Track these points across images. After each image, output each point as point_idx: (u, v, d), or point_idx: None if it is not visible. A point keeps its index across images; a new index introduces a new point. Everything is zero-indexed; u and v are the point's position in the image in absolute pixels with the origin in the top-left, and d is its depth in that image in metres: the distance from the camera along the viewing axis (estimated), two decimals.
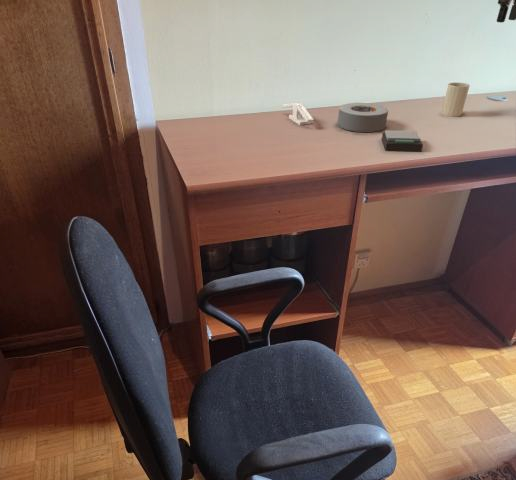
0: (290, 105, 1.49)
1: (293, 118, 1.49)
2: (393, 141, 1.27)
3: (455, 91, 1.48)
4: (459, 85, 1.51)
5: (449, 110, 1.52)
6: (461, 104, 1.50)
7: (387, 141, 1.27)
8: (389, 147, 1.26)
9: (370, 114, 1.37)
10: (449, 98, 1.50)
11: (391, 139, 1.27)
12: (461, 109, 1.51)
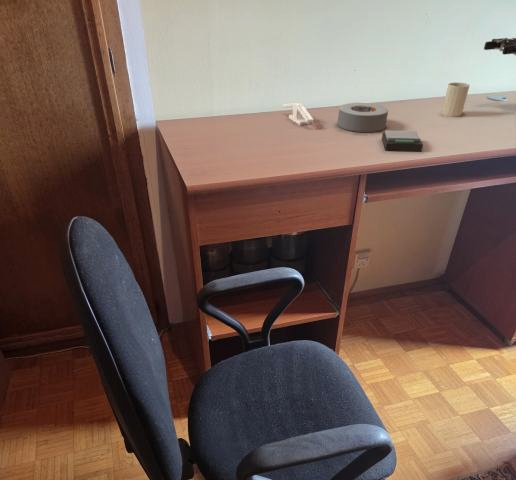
0: (290, 105, 1.49)
1: (293, 118, 1.49)
2: (393, 141, 1.27)
3: (455, 91, 1.48)
4: (459, 85, 1.51)
5: (449, 110, 1.52)
6: (461, 104, 1.50)
7: (387, 141, 1.27)
8: (389, 147, 1.26)
9: (370, 114, 1.37)
10: (449, 98, 1.50)
11: (391, 139, 1.27)
12: (461, 109, 1.51)
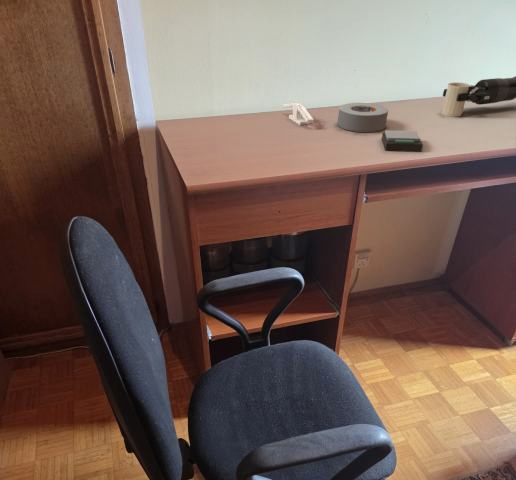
0: (290, 105, 1.49)
1: (293, 118, 1.49)
2: (393, 141, 1.27)
3: (455, 91, 1.48)
4: (459, 85, 1.51)
5: (449, 110, 1.52)
6: (461, 104, 1.50)
7: (387, 141, 1.27)
8: (389, 147, 1.26)
9: (370, 114, 1.37)
10: (449, 98, 1.50)
11: (391, 139, 1.27)
12: (461, 109, 1.51)
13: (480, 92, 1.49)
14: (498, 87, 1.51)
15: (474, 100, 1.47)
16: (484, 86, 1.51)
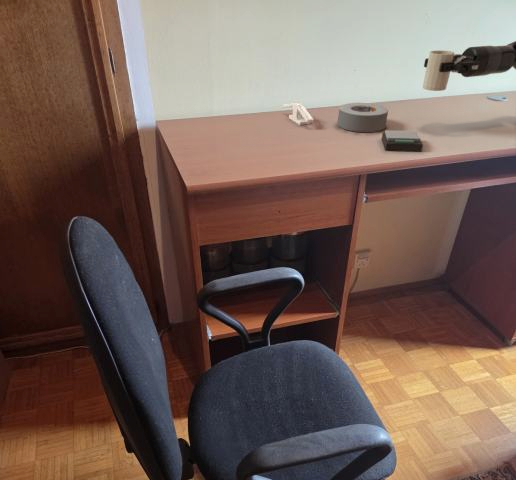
0: (290, 105, 1.49)
1: (293, 118, 1.49)
2: (393, 141, 1.27)
3: (437, 60, 1.26)
4: (443, 53, 1.29)
5: (431, 83, 1.30)
6: (445, 76, 1.28)
7: (387, 141, 1.27)
8: (389, 147, 1.26)
9: (370, 114, 1.37)
10: (431, 68, 1.28)
11: (391, 139, 1.27)
12: (445, 82, 1.29)
13: (467, 61, 1.27)
14: (489, 55, 1.29)
15: (460, 70, 1.25)
16: (472, 55, 1.29)
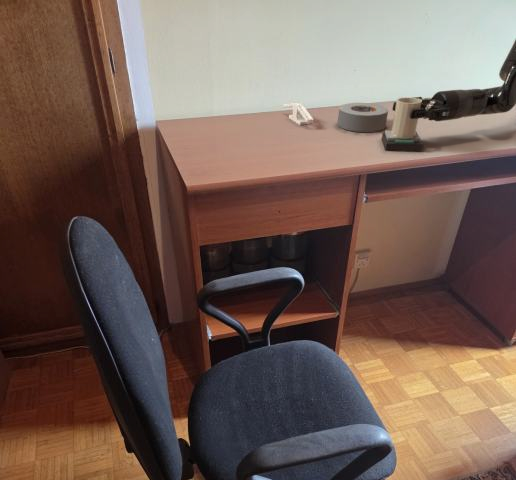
0: (290, 105, 1.49)
1: (293, 118, 1.49)
2: (393, 141, 1.27)
3: (404, 108, 1.21)
4: (410, 101, 1.25)
5: (399, 131, 1.25)
6: (413, 124, 1.24)
7: (387, 141, 1.27)
8: (389, 147, 1.26)
9: (370, 114, 1.37)
10: (398, 116, 1.24)
11: (391, 139, 1.27)
12: (413, 130, 1.25)
13: (436, 107, 1.23)
14: (459, 100, 1.24)
15: (431, 117, 1.20)
16: (442, 100, 1.24)
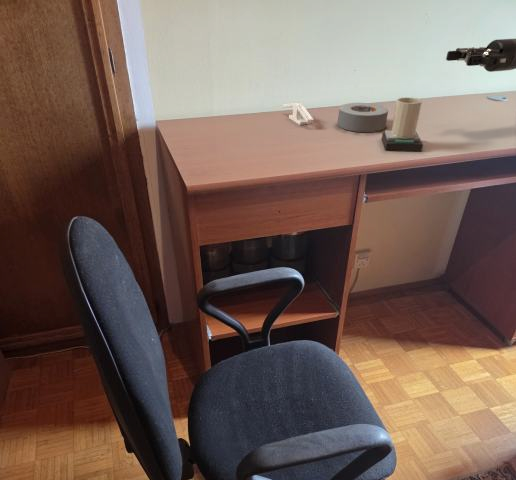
0: (290, 105, 1.49)
1: (293, 118, 1.49)
2: (393, 141, 1.27)
3: (404, 108, 1.21)
4: (410, 101, 1.25)
5: (399, 131, 1.25)
6: (413, 124, 1.24)
7: (387, 141, 1.27)
8: (389, 147, 1.26)
9: (370, 114, 1.37)
10: (398, 116, 1.24)
11: (391, 139, 1.27)
12: (413, 130, 1.25)
13: (493, 54, 1.20)
14: (515, 48, 1.22)
15: (489, 64, 1.18)
16: (497, 48, 1.22)
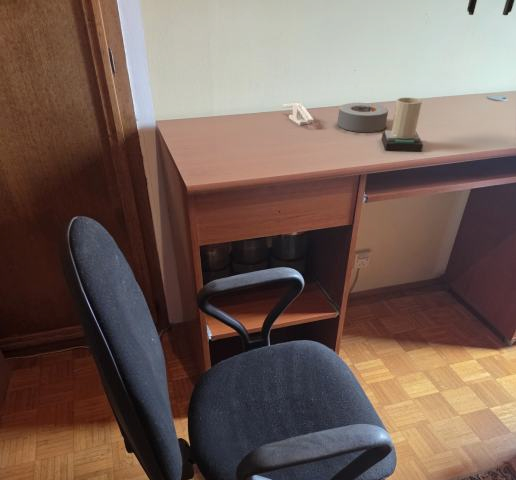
0: (290, 105, 1.49)
1: (293, 118, 1.49)
2: (393, 141, 1.27)
3: (404, 108, 1.21)
4: (410, 101, 1.25)
5: (399, 131, 1.25)
6: (413, 124, 1.24)
7: (387, 141, 1.27)
8: (389, 147, 1.26)
9: (370, 114, 1.37)
10: (398, 116, 1.24)
11: (391, 139, 1.27)
12: (413, 130, 1.25)
13: None
14: None
15: None
16: None
